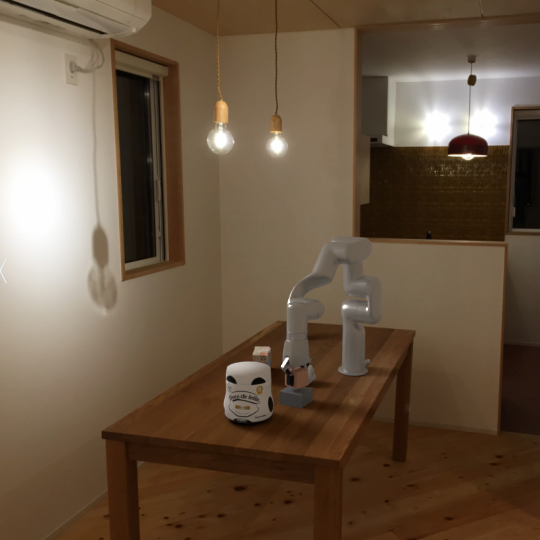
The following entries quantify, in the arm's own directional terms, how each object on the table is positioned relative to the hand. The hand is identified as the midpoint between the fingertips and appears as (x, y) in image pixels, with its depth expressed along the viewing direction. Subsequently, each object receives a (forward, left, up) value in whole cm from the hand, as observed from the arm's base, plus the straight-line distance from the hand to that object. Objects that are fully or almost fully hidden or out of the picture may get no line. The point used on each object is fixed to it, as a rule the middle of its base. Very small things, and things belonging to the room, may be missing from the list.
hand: (296, 382), depth 234 cm
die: (-18, -12, -8) cm, 23 cm away
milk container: (+23, -1, -8) cm, 24 cm away
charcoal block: (0, 0, -8) cm, 8 cm away
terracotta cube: (0, 0, -1) cm, 1 cm away
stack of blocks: (-13, -32, -8) cm, 35 cm away
